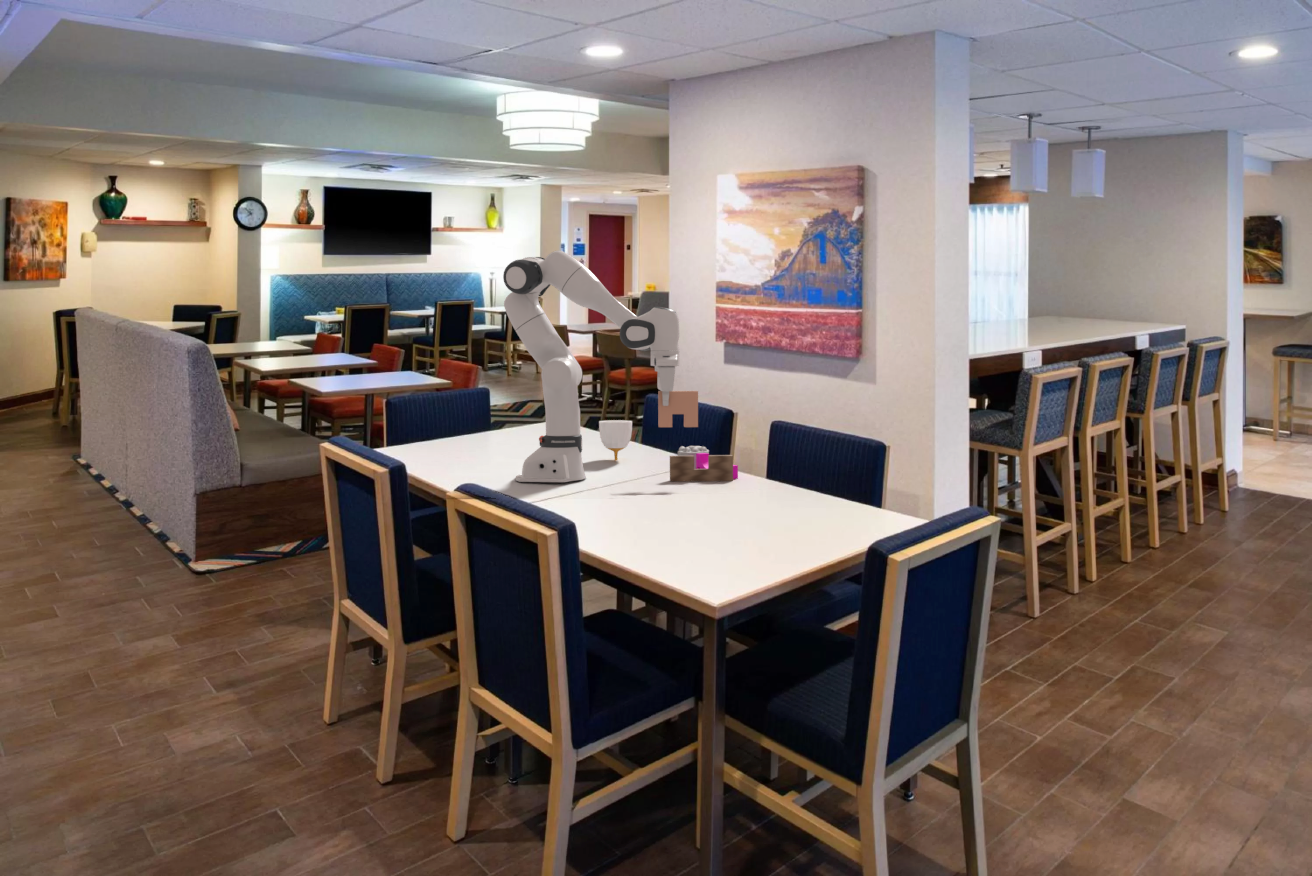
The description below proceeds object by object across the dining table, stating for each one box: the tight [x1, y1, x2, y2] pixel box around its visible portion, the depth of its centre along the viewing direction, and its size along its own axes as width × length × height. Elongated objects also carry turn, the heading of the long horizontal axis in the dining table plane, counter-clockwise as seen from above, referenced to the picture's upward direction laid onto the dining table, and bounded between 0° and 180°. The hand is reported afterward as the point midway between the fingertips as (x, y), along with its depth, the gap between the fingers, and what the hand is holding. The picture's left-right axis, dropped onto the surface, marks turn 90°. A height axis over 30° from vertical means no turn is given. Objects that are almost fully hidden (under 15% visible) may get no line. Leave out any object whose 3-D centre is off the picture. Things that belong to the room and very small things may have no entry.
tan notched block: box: [657, 390, 699, 428], centre depth 299 cm, size 4×12×11 cm, turn 93°
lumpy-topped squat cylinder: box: [677, 445, 710, 469], centre depth 335 cm, size 10×13×9 cm
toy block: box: [696, 452, 739, 480], centre depth 320 cm, size 15×6×8 cm, turn 31°
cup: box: [598, 419, 633, 461], centre depth 341 cm, size 12×12×17 cm
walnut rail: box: [669, 454, 734, 482], centre depth 310 cm, size 20×2×8 cm, turn 93°
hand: (664, 405), depth 299 cm, fingers closed on tan notched block, 3 cm apart
